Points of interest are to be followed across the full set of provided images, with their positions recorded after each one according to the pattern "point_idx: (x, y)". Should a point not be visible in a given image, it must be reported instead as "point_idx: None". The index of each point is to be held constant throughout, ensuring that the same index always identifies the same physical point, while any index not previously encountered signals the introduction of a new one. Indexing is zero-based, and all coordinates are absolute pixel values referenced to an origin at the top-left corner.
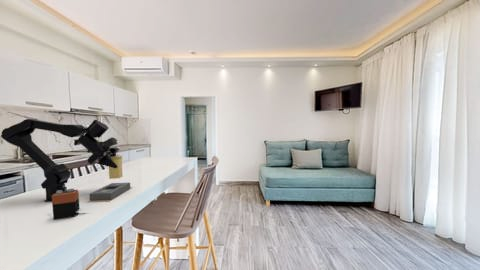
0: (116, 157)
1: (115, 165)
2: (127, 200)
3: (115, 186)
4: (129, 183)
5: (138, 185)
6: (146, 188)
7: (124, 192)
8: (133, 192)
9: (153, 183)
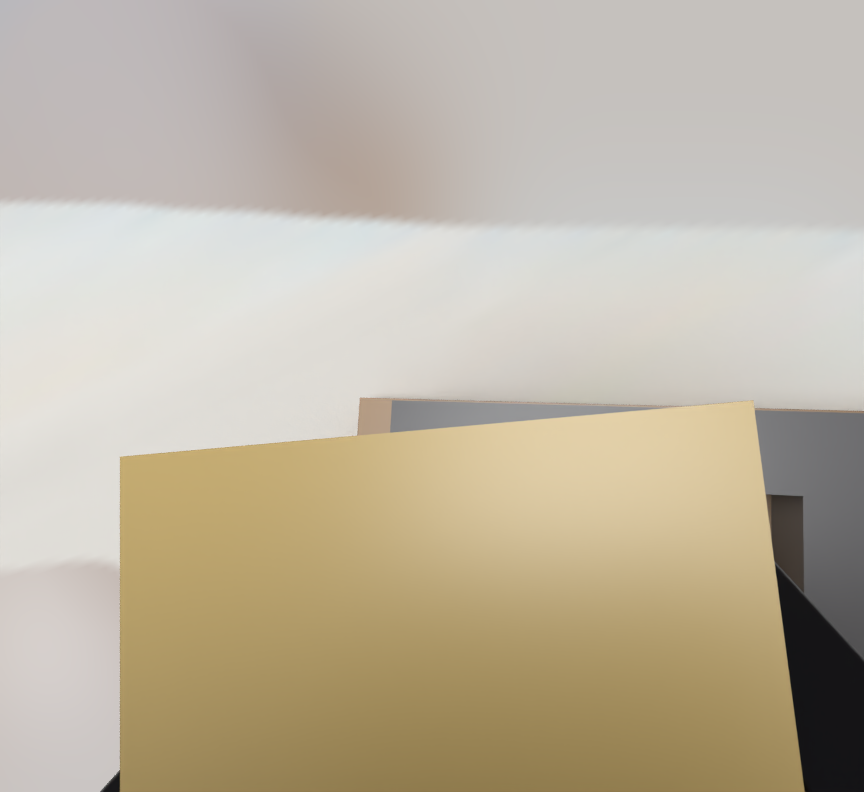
0: (769, 562)
1: None
2: (853, 260)
3: None
4: (417, 403)
5: (163, 430)
6: (329, 242)
7: (627, 405)
8: (489, 348)
9: (112, 248)
